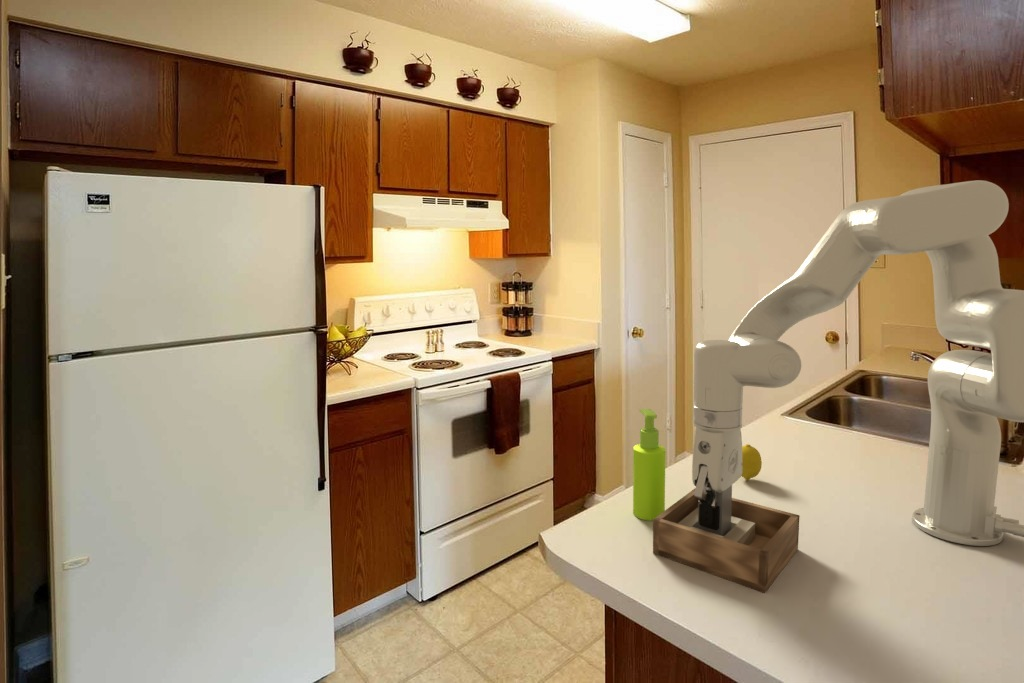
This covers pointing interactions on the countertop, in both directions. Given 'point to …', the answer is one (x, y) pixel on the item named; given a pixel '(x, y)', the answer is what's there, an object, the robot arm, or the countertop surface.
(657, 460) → the soap dispenser
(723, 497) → the plug
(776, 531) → the crate
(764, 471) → the countertop surface
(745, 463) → the lemon
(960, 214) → the robot arm
